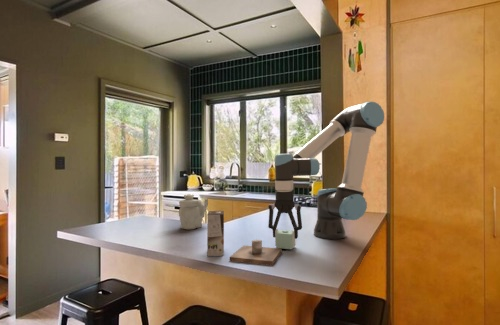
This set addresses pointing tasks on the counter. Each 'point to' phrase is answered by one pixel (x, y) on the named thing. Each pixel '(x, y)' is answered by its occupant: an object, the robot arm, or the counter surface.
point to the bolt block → (256, 254)
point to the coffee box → (215, 233)
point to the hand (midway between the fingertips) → (285, 245)
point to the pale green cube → (284, 239)
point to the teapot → (192, 212)
